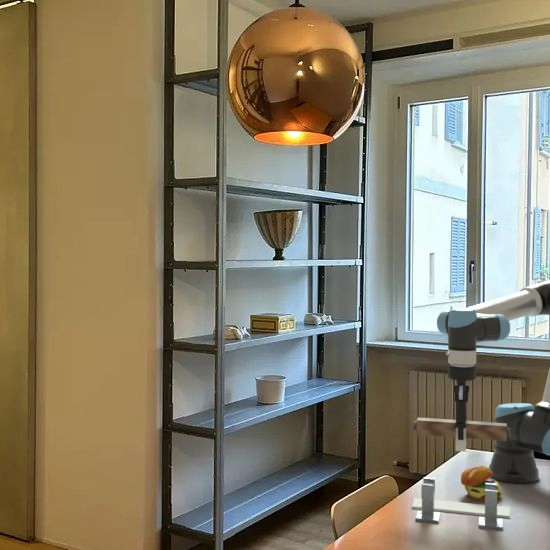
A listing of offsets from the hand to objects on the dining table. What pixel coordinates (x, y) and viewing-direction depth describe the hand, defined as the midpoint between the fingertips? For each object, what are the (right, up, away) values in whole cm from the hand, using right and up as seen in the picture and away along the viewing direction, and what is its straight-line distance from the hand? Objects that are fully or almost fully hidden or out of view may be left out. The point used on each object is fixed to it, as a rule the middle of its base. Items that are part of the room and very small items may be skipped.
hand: (461, 448), depth 201 cm
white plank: (0, -17, +1) cm, 17 cm away
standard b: (+5, -17, -11) cm, 21 cm away
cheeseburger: (+9, -17, +11) cm, 22 cm away
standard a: (-10, -17, -7) cm, 21 cm away
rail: (0, +4, 0) cm, 4 cm away
